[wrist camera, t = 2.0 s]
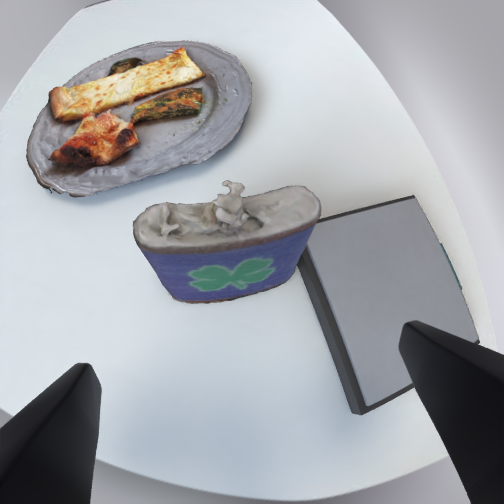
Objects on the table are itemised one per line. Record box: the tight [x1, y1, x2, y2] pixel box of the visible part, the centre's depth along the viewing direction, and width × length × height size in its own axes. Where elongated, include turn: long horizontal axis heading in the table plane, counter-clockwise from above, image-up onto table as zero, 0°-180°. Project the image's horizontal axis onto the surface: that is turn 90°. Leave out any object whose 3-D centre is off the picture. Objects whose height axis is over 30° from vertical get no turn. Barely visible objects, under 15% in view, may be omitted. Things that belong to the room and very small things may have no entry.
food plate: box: [26, 40, 252, 197], centre depth 27 cm, size 25×23×4 cm
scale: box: [297, 195, 480, 415], centre depth 21 cm, size 14×12×2 cm
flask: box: [133, 180, 321, 304], centre depth 17 cm, size 9×3×11 cm, turn 101°
